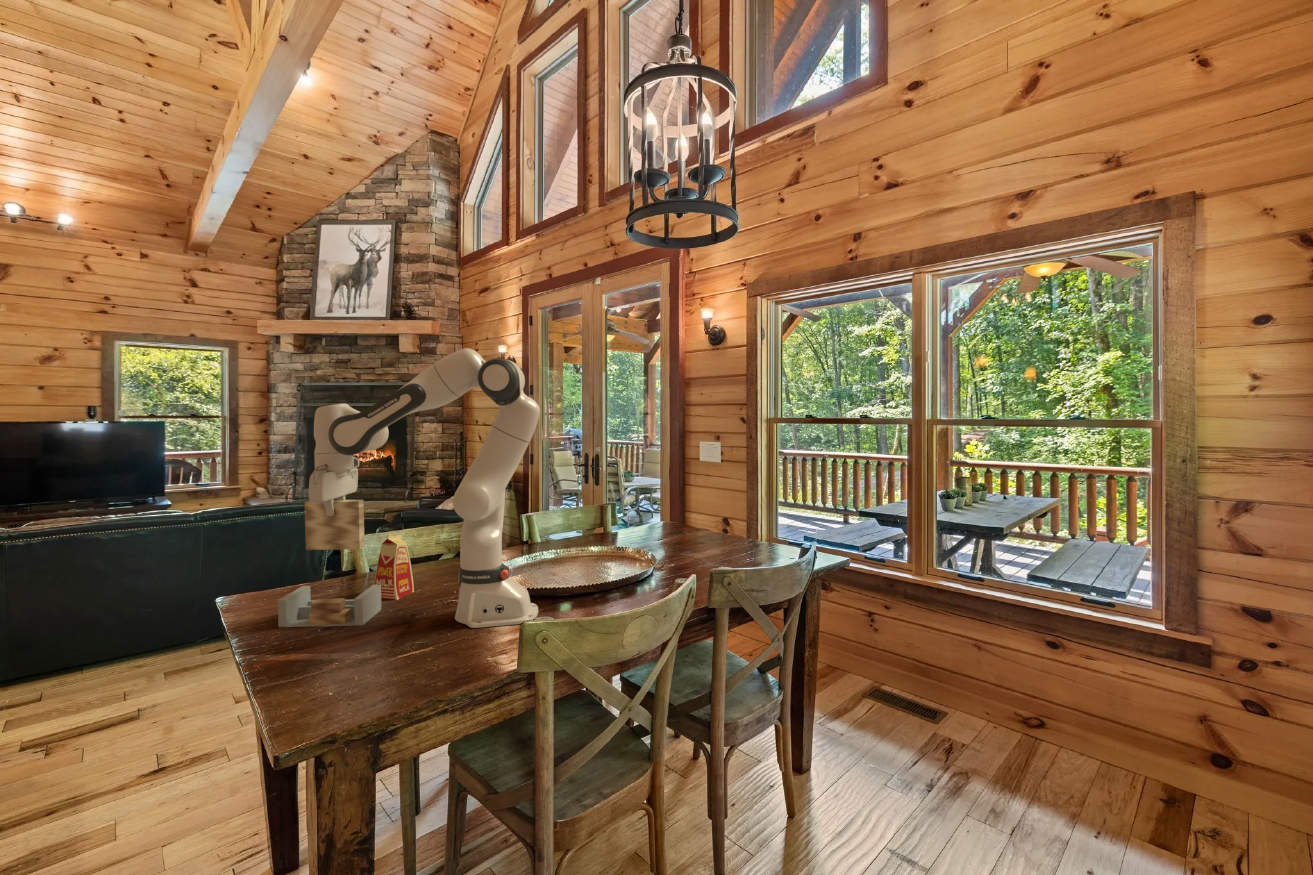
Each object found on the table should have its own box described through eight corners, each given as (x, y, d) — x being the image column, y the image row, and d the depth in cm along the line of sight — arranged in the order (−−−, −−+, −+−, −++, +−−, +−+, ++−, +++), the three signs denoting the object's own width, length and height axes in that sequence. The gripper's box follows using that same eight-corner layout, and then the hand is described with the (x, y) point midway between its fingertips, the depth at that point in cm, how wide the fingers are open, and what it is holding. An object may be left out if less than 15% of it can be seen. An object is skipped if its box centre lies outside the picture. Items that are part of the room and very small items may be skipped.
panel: (364, 546, 159) (363, 499, 159) (359, 549, 156) (358, 501, 156) (311, 547, 158) (310, 500, 158) (305, 549, 155) (304, 501, 155)
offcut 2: (351, 618, 155) (351, 608, 155) (345, 623, 151) (344, 613, 151) (316, 619, 154) (316, 609, 154) (309, 624, 151) (308, 613, 150)
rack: (381, 613, 162) (380, 584, 162) (362, 629, 150) (362, 598, 150) (303, 614, 161) (302, 585, 160) (278, 631, 149) (277, 600, 149)
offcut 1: (345, 608, 155) (344, 598, 155) (339, 612, 151) (339, 602, 151) (316, 609, 154) (316, 599, 154) (311, 614, 150) (310, 603, 150)
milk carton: (397, 603, 170) (396, 536, 169) (370, 601, 172) (369, 535, 171) (416, 594, 179) (415, 530, 178) (390, 592, 181) (389, 529, 180)
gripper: (326, 466, 146) (328, 521, 147) (361, 459, 166) (363, 507, 167) (300, 467, 146) (302, 521, 146) (339, 459, 166) (340, 507, 167)
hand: (334, 513), depth 157 cm, fingers closed on panel, 3 cm apart
